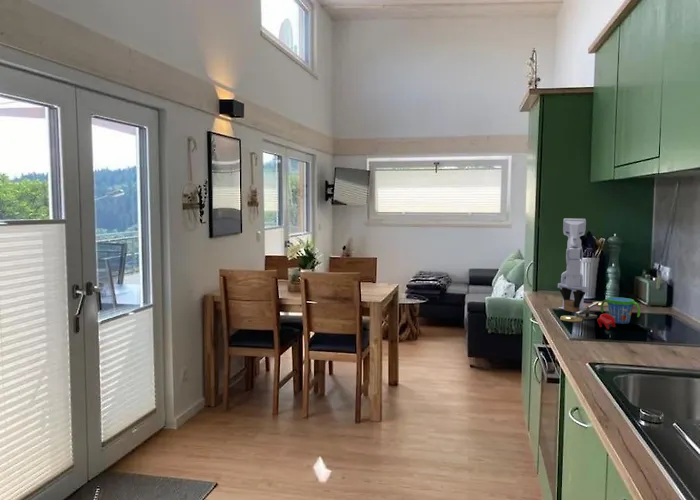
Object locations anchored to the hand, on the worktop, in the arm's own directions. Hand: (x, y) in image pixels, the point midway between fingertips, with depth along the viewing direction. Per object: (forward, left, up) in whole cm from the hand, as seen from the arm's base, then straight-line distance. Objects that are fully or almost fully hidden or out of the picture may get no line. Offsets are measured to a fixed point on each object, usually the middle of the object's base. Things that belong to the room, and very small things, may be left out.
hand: (571, 306), depth 243 cm
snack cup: (-15, +13, -6) cm, 20 cm away
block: (0, 0, -2) cm, 2 cm away
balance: (-11, 0, -6) cm, 12 cm away
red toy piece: (-1, +17, -6) cm, 18 cm away
